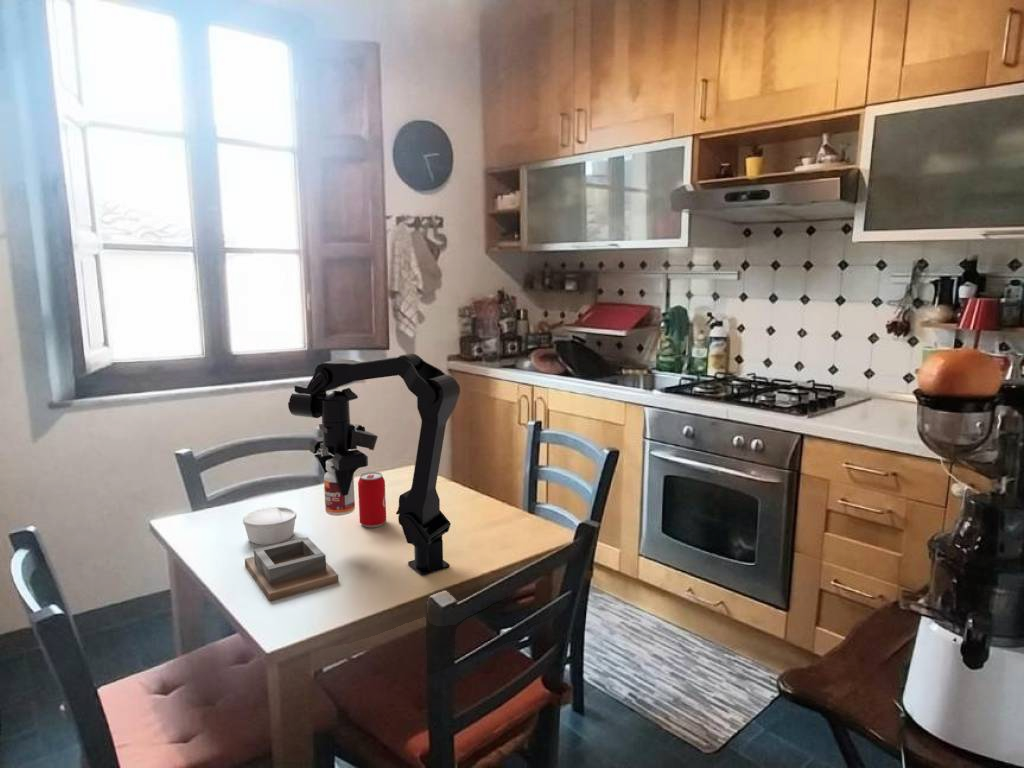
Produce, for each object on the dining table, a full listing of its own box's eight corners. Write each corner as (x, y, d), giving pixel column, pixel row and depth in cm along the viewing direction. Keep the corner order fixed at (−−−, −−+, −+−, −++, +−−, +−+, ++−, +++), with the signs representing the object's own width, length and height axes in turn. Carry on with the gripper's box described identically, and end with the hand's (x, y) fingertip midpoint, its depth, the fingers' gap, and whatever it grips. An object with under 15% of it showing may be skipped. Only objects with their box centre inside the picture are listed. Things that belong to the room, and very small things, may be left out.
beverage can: (389, 519, 158) (388, 471, 155) (382, 529, 151) (380, 479, 149) (364, 518, 158) (362, 471, 156) (356, 528, 152) (353, 479, 150)
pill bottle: (319, 514, 138) (316, 463, 136) (336, 505, 144) (334, 455, 142) (344, 518, 136) (341, 465, 134) (360, 508, 142) (358, 458, 140)
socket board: (338, 582, 125) (337, 560, 125) (269, 601, 118) (268, 578, 117) (308, 550, 140) (307, 530, 139) (245, 565, 133) (243, 544, 132)
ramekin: (307, 534, 149) (306, 512, 148) (267, 551, 140) (266, 528, 139) (274, 524, 155) (273, 503, 154) (234, 540, 145) (232, 518, 144)
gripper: (390, 423, 133) (392, 495, 136) (355, 408, 148) (358, 473, 151) (337, 430, 127) (341, 506, 130) (307, 414, 142) (310, 482, 145)
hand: (339, 491), depth 139 cm, fingers closed on pill bottle, 6 cm apart
